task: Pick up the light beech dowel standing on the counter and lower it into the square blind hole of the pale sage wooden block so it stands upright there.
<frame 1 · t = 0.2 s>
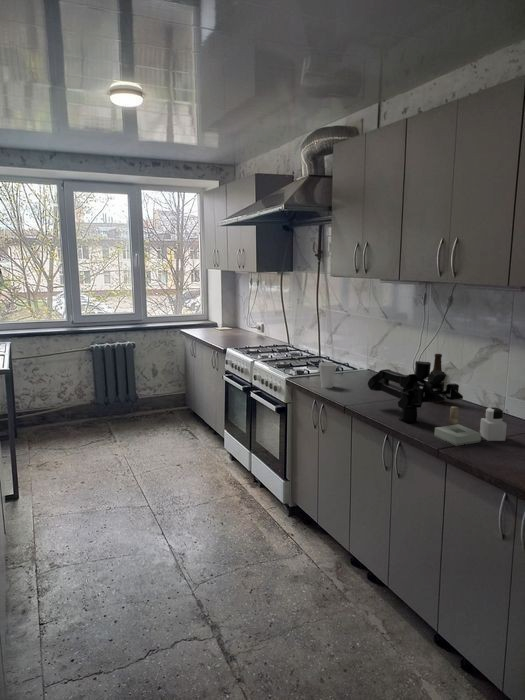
hand: (453, 398, 197), 17 cm above the counter, tool horizontal, fingers open, 9 cm apart
beer bottle: (435, 401, 256), on the counter
bore block: (457, 439, 201), on the counter
foam cup: (327, 387, 284), on the counter
dowel: (453, 428, 214), on the counter
medicine bottle: (492, 438, 202), on the counter
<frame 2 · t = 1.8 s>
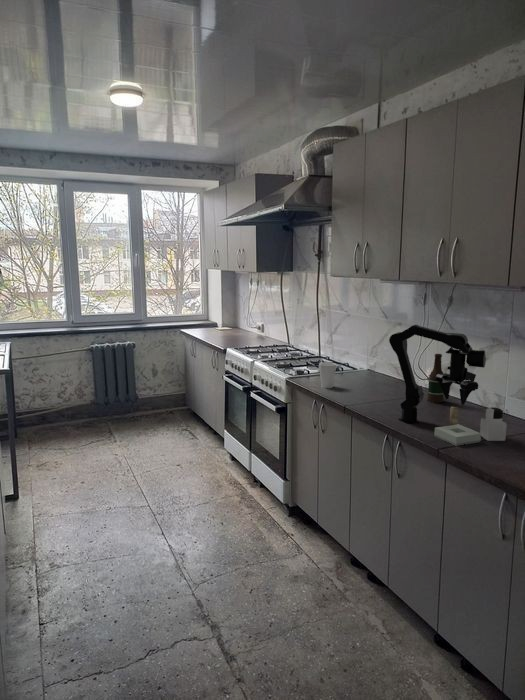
hand: (454, 401, 212), 11 cm above the counter, tool pointing down, fingers open, 9 cm apart
nothing on the counter moved.
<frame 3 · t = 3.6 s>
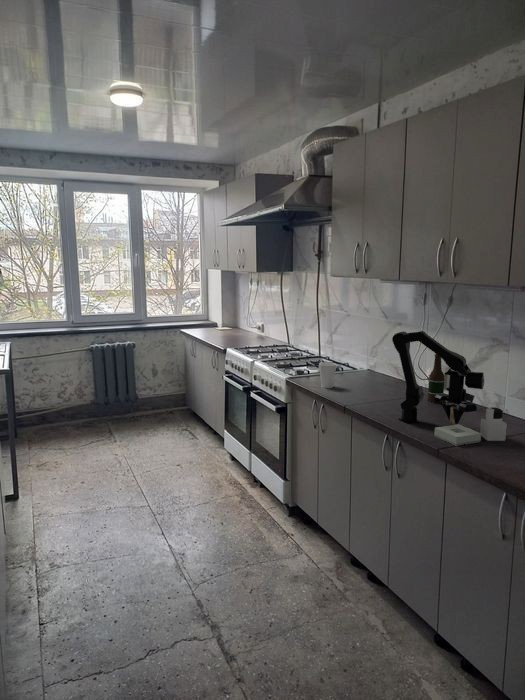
hand: (453, 422, 213), 3 cm above the counter, tool pointing down, fingers closed on dowel, 3 cm apart
dowel: (453, 428, 214), on the counter, touching gripper
everything else where it was.
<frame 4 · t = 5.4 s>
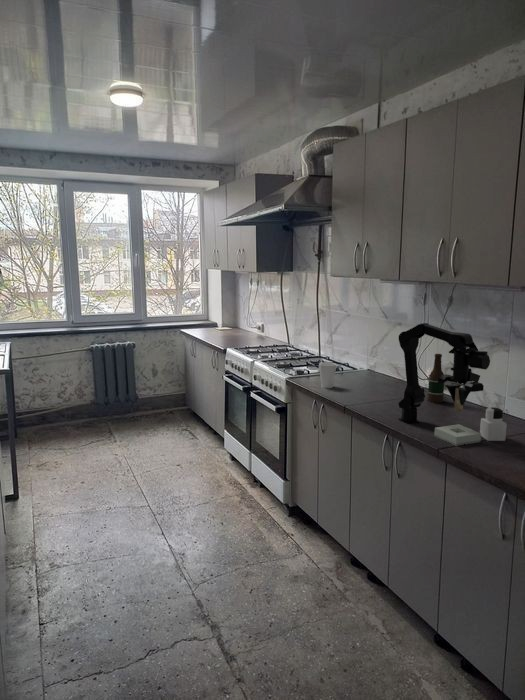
hand: (458, 404, 203), 13 cm above the counter, tool pointing down, fingers closed on dowel, 3 cm apart
dowel: (458, 410, 203), point 10 cm above the counter, touching gripper
everything else where it was.
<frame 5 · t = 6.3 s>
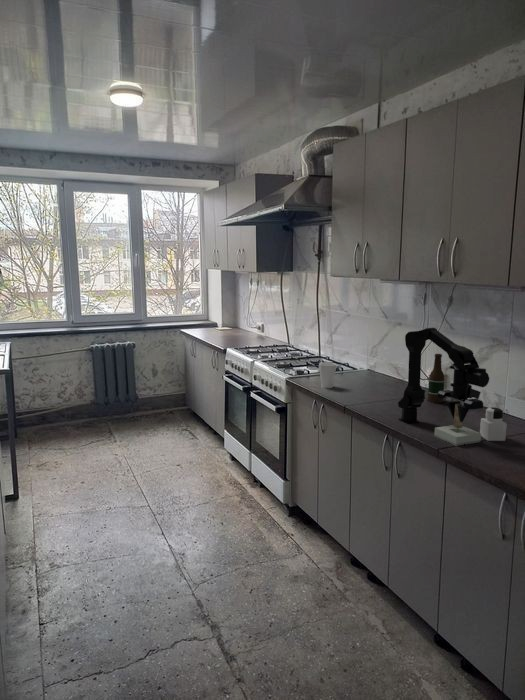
hand: (458, 420, 199), 7 cm above the counter, tool pointing down, fingers closed on dowel, 3 cm apart
dowel: (457, 426, 200), point 5 cm above the counter, touching gripper
everything else where it was.
when the fingers open (4 cm above the counter, at t = 7.2 s): dowel drops 1 cm, resting on bore block.
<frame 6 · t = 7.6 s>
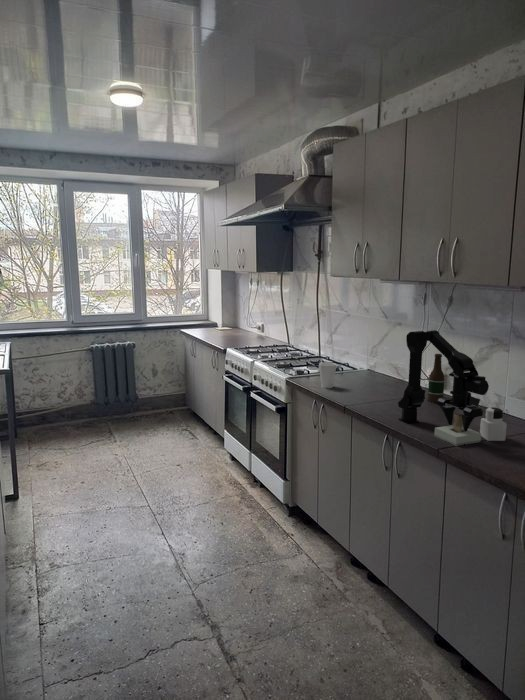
hand: (457, 428, 200), 4 cm above the counter, tool pointing down, fingers open, 8 cm apart
dowel: (457, 437, 201), point 1 cm above the counter, touching bore block
everything else where it was.
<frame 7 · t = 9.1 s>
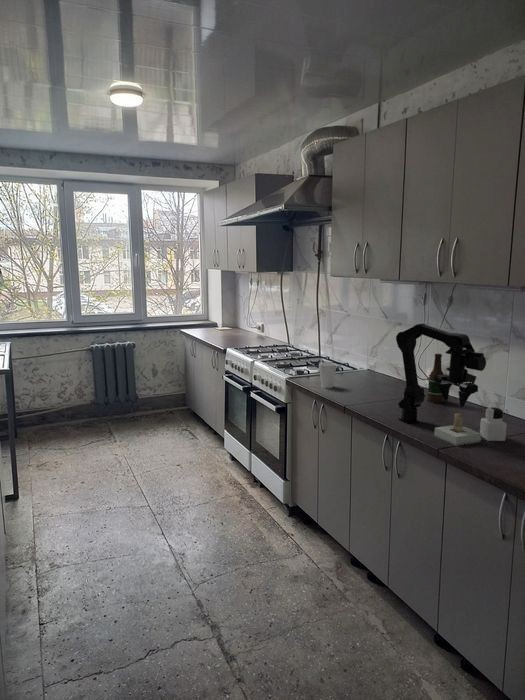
hand: (453, 404, 205), 12 cm above the counter, tool pointing down, fingers open, 9 cm apart
nothing on the counter moved.
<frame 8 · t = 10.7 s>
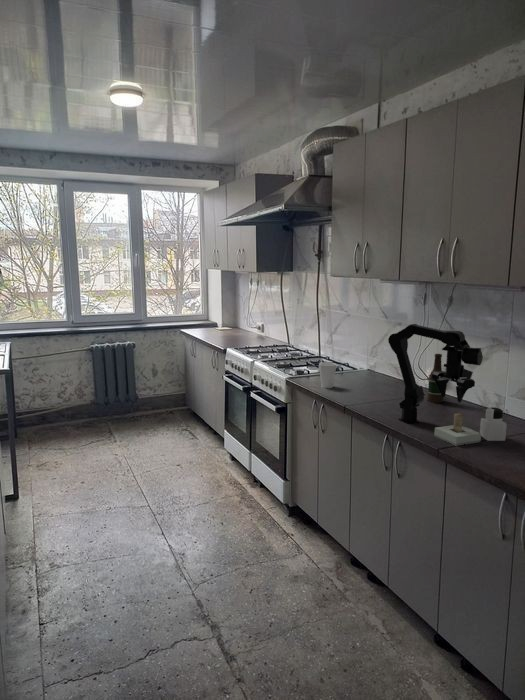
hand: (451, 399, 209), 13 cm above the counter, tool pointing down, fingers open, 9 cm apart
nothing on the counter moved.
at the end: dowel 0.1 cm off-centre on the bore block, point 0.8 cm above the bore block's base; dowel tilted 1°; the gripper is holding nothing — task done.
